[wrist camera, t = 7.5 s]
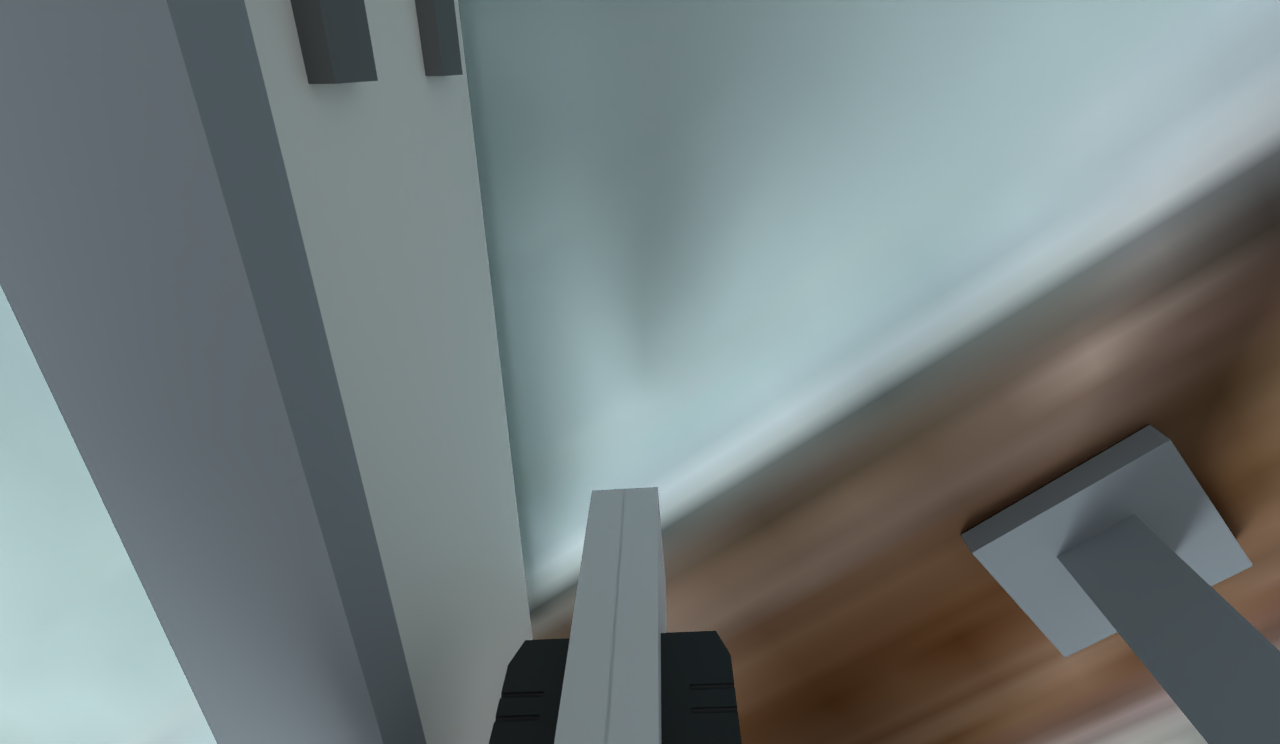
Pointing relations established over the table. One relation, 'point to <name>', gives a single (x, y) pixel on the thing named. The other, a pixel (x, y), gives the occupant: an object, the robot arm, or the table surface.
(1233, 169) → the table surface
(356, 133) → the grey long flat block
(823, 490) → the table surface
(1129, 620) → the posts
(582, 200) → the table surface
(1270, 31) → the table surface
